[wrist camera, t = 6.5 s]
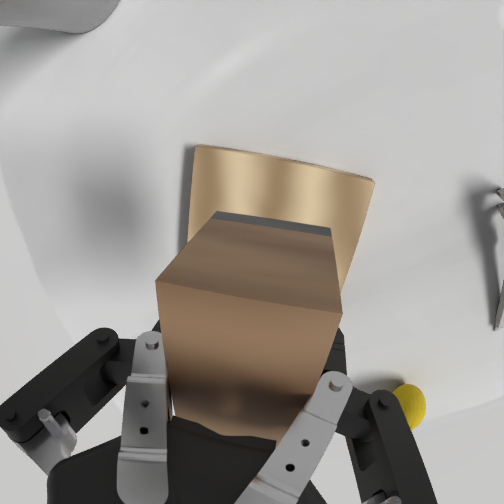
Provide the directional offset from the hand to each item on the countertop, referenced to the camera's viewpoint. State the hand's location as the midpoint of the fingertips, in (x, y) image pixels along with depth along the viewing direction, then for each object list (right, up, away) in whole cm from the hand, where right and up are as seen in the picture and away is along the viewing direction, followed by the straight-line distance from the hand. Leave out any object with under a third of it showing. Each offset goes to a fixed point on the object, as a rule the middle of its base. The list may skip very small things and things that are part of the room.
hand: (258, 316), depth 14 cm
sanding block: (0, 0, +1) cm, 1 cm away
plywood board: (+1, -1, +18) cm, 18 cm away
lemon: (+21, -16, +22) cm, 35 cm away
